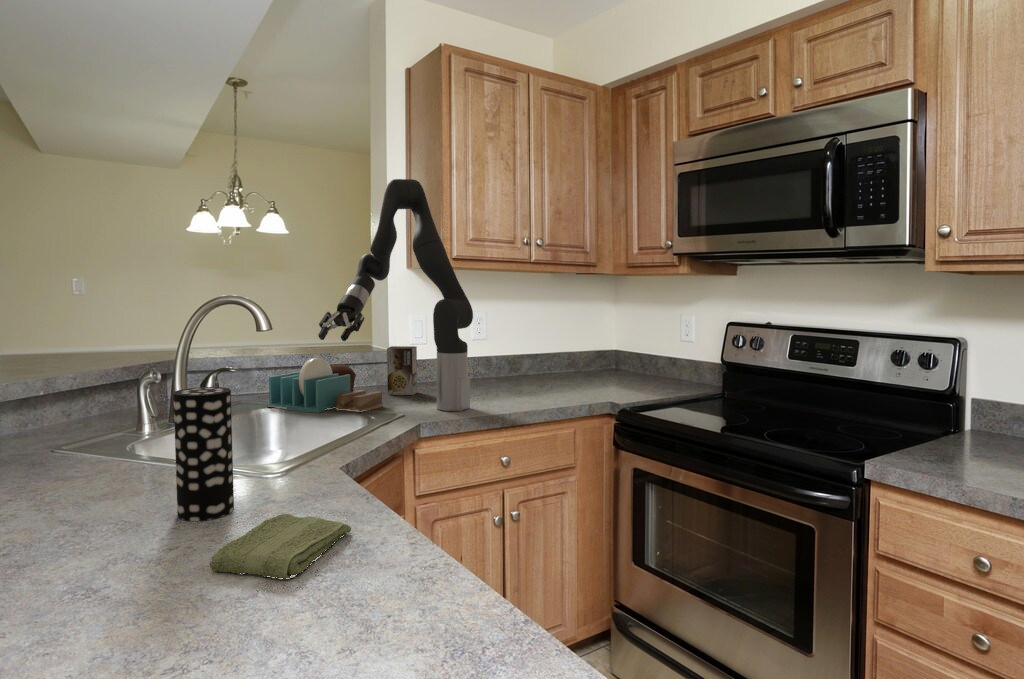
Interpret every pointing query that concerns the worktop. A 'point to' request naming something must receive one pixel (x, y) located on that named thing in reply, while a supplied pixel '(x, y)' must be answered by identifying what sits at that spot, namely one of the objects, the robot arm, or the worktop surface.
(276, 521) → the washcloth
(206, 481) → the spotted tube
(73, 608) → the worktop surface
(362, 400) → the plate stand
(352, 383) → the muffin
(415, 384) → the coffee box
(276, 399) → the rack
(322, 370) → the plate
